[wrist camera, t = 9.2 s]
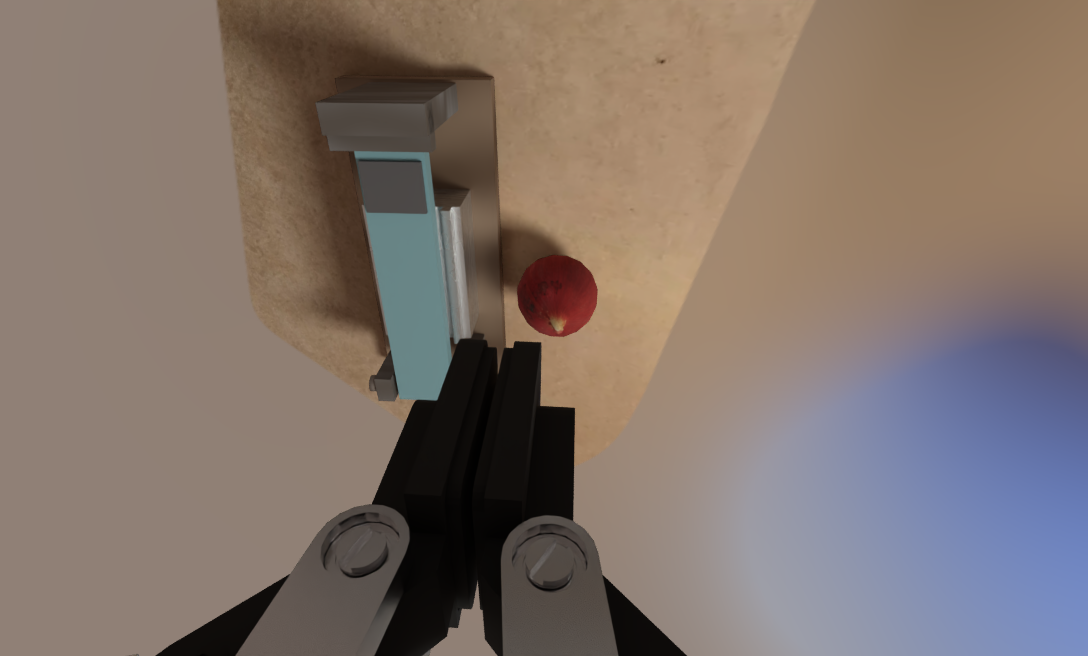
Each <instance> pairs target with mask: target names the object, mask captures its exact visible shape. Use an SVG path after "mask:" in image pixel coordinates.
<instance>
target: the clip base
mask: <svg viewBox="0 0 1088 656" xmlns="http://www.w3.org/2000/svg"><path fill="white" fill-rule="evenodd" d="M335 82H336V87H337V92H338V94H337V95H334V96H331V97H329V98H326V99H323V100H321V101H318V102H316V103H315V104H316V108H317V113H318V118H319V122H320V127H321V132H322V135H325V136H327V140H328V144H329V149H330V151H349V156H350V161H351V166H352V172H353V177H354V182H355V187H356V193H357V198H358V203H359V208H360V214H361V219H362V224H363V230H364V235H365V240H366V245H367V251H368V256H369V261H370V266H371V272H372V277H373V282H374V288H375V293H376V298H377V303H378V309H379V314H380V319H381V324H382V330H383V335H384V340H385V346H386V351H387V357H386V359H385V360H384V362H383V364H382V366H381V368H380V370H379V371H378V373H377V375H372V376H371V377H370V380H369V388H370V391H377V395H378V399H379V401H395V400H396V397H397V395H398V393H399V392H398V386H397V381H396V375H395V370H394V364H393V359H392V354H391V348H390V343H389V337H388V335H386V332H385V326H384V321H383V315H382V310H381V305H380V299H379V294H378V289H377V283H376V278H375V273H374V267H373V262H372V257H371V251H370V246H369V240H368V235H367V230H366V224H365V219H364V214H363V208H362V204H363V203H364V202H363V196H362V191H361V185H360V180H359V174H358V169H357V164H356V158H355V153H354V151H371V152H429V157H430V166H431V175H432V184H433V189H466V190H470V193H471V206H472V220H473V234H474V247H475V261H476V275H477V288H478V302H479V315H478V318H477V322H476V325H475V328H474V331H473V334H472V337H471V338H464V339H480V340H487V343H488V347H496V348H497V359H498V372H499V368H500V363H501V359H502V354H503V350H504V348H506V339H505V316H504V294H503V271H502V248H501V225H500V203H499V180H498V157H497V135H496V112H495V89H494V77H435V76H341V77H338V78H335ZM450 346H451V355H452V357H453V354H454V352H455V349H456V346H457V344H454V338H453V337H450Z"/></svg>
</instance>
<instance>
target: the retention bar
mask: <svg viewBox="0 0 1088 656" xmlns="http://www.w3.org/2000/svg"><path fill="white" fill-rule="evenodd" d="M354 153H355V158H356V164H357V169H358V174H359V180H360V185H361V191H362V196H363V202H364V207H365V212H366V218H367V223H368V229H369V234H370V240H371V245H372V250H373V256H374V261H375V267H376V272H377V278H378V283H379V288H380V294H381V299H382V305H383V310H384V316H385V321H386V326H387V332H388V337H389V343H390V348H391V354H392V359H393V364H394V370H395V375H396V381H397V386H398V392H399V397H400V399H414V400H418V399H419V400H437V399H438V396H439V393H440V391H441V388H442V385H443V382H444V380H445V377H446V374H447V371H448V368H449V366H450V363H451V360H452V355H451V346H450V337H449V328H448V319H447V310H446V301H445V292H444V283H443V274H442V265H441V256H440V247H439V238H438V229H437V220H436V211H435V202H434V193H433V184H432V175H431V166H430V157H429V152H371V151H354Z"/></svg>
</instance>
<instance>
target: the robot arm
mask: <svg viewBox="0 0 1088 656" xmlns="http://www.w3.org/2000/svg"><path fill="white" fill-rule="evenodd" d="M540 394H541V342H520V341H515V342H514V347H513V348H504V350H503V354H502V359H501V363H500V368H499V372H498V359H497V348H496V347H488V343H487V340H480V339H459V341H458V343H457V346H456V349H455V352H454V354H453V357H452V360H451V363H450V366H449V368H448V371H447V374H446V377H445V380H444V382H443V385H442V388H441V391H440V393H439V396H438V399H437V400H419V399H418V400H416V401H415V402H414V404H413V406H412V408H411V411H410V413H409V415H408V418H407V420H406V423H405V425H404V428H403V430H402V432H401V435H400V437H399V440H398V442H397V444H396V447H395V449H394V452H393V454H392V457H391V459H390V461H389V464H388V466H387V469H386V471H385V473H384V476H383V478H382V481H381V483H380V485H379V488H378V490H377V493H376V495H375V498H374V500H373V502H372V505H371V504H369V505H364V506H358V507H354V508H351V509H349V510H347V511H345V512H342V513H340V514H339V515H337V516H336V517H334V518H333V519H332V520H330V521H329V522H327V523H326V525H325V526H324V527H323V528H322V529H321V530H320V531H319V533H318V534H317V535H316V537H315V538H314V540H313V541H312V543H311V544H310V546H309V547H308V549H307V550H306V551H305V553H304V554H303V556H302V557H301V559H300V561H299V562H298V563H297V565H296V566H295V568H294V570H293V571H292V572H291V574H289V575H287V576H286V577H284V578H282V579H281V580H279V581H278V582H276V583H274V584H272V585H271V586H269V587H267V588H266V589H264V590H262V591H261V592H259V593H257V594H256V595H254V596H252V597H250V598H249V599H247V600H246V601H244V602H242V603H241V604H239V605H237V606H235V607H234V608H232V609H231V610H229V611H227V612H225V613H224V614H222V615H220V616H218V617H217V618H215V619H214V620H212V621H210V622H208V623H207V624H205V625H204V626H202V627H200V628H198V629H197V630H195V631H193V632H192V633H190V634H188V635H187V636H185V637H183V638H181V639H180V640H178V641H176V642H175V643H173V644H171V645H170V646H168V647H167V648H166V649H164V650H163V651H162V652H160V653H159V654H157V655H156V656H429V655H430V649H431V648H433V647H434V646H435V645H436V644H438V643H439V642H440V641H441V640H443V639H444V638H445V637H447V633H448V628H449V627H452V628H458V625H459V620H460V615H461V610H462V609H471V608H472V607H473V603H474V598H475V591H476V586H477V581H478V587H479V599H480V609H481V610H483V620H484V632H485V640H486V641H487V642H488V644H489V645H490V646H491V648H492V649H493V650H494V651H495V653H496V654H497V655H498V656H687V655H686V654H684V652H682V651H681V650H680V649H679V648H678V647H677V646H676V645H675V644H674V643H673V642H672V641H671V640H670V639H669V638H668V637H667V636H666V635H665V634H664V633H662V631H660V629H659V628H657V627H656V626H655V625H654V624H653V623H652V622H651V621H650V620H649V619H648V618H647V617H646V616H645V615H644V614H643V613H642V612H641V611H640V610H639V609H638V608H637V607H636V606H634V605H633V603H631V602H630V601H629V600H628V599H627V598H626V597H625V596H624V595H623V594H622V593H621V592H620V591H619V590H618V589H617V588H616V587H615V586H613V584H612V583H611V582H609V580H608V579H606V578H605V577H604V576H603V575H602V570H601V565H600V560H599V555H598V551H597V548H596V546H595V543H594V540H593V539H592V538H591V536H590V535H589V534H588V533H587V531H586V530H585V529H584V528H582V527H581V526H580V525H578V524H576V523H575V522H574V521H573V499H574V496H573V495H574V435H575V408H568V407H549V406H540ZM130 656H139V655H138V654H136V655H130Z"/></svg>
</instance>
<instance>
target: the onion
mask: <svg viewBox="0 0 1088 656" xmlns="http://www.w3.org/2000/svg"><path fill="white" fill-rule="evenodd" d="M597 291H598V289H597V286H596V284H595V281H594V278H593V275H592V274H591V272H590V271H589V270H588V269H587V268H586V267H585V266H584V265H583V264H582V263H581V262H580V261H578V260H575V259H573V258H571V257H568V256H560V255H551V256H548V257H544V258H541V259H538V260H537V261H535V262H534V263H533V264H531V265H530V266H529V267H528V268H526V270H525V272H524V274H523V276H522V278H521V280H520V283H519V285H518V287H517V295H518V306H519V309H520V311H521V313H522V314H523V316H524V318H525V319H526V321H527V323H528V324H529V325H530V326H532V327H533V328H534V329H535V330H537V331H538V332H539V333H542V334H546V335H549V336H559V337H564V336H567V335H569V334H572V333H574V332H577V331H578V330H579V329H580V328H582V327H583V326H584V325H585V324H586V323H587V322H588V321H589V320H590V318H591V316H592V314H593V312H594V310H595V308H596V304H597Z"/></svg>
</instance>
